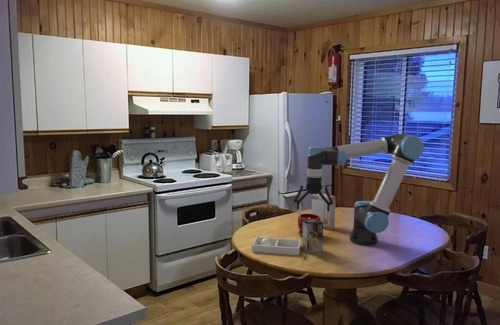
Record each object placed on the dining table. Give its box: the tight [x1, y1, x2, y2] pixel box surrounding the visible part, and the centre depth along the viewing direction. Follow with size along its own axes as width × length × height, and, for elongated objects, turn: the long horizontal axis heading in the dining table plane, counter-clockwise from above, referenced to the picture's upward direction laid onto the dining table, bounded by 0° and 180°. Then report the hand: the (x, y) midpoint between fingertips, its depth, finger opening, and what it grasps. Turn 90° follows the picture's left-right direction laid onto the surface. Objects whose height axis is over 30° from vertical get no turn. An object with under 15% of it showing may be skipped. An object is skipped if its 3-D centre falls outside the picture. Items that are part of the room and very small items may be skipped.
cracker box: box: [311, 193, 337, 231], centre depth 261 cm, size 14×6×21 cm, turn 44°
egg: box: [261, 237, 271, 246], centre depth 222 cm, size 5×5×5 cm
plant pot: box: [297, 213, 321, 237], centre depth 246 cm, size 13×13×12 cm
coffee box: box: [301, 219, 324, 254], centre depth 221 cm, size 9×6×16 cm
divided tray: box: [251, 236, 302, 256], centre depth 221 cm, size 24×14×4 cm, turn 79°
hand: (312, 216), depth 219 cm, fingers open, 13 cm apart
